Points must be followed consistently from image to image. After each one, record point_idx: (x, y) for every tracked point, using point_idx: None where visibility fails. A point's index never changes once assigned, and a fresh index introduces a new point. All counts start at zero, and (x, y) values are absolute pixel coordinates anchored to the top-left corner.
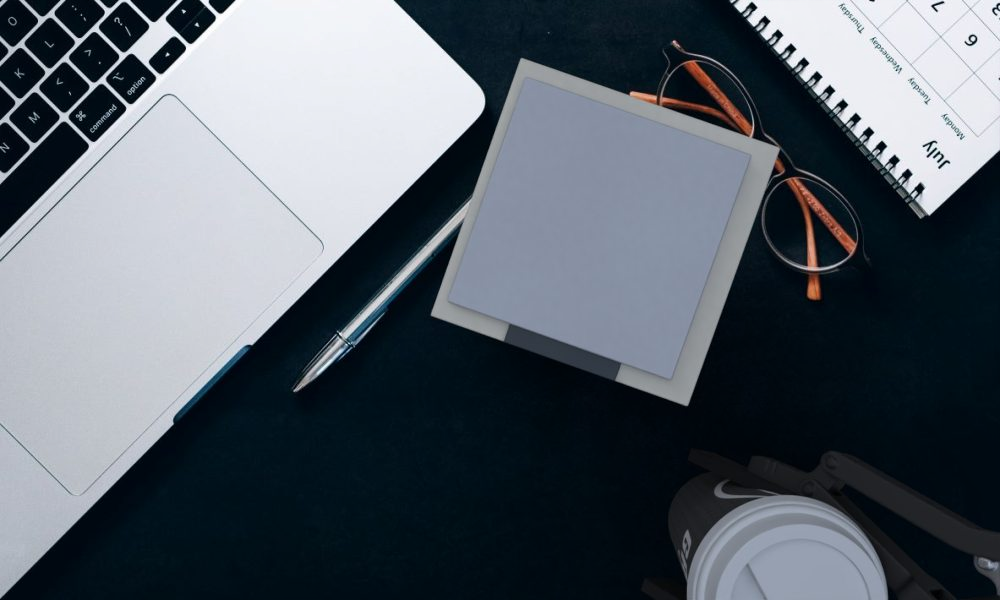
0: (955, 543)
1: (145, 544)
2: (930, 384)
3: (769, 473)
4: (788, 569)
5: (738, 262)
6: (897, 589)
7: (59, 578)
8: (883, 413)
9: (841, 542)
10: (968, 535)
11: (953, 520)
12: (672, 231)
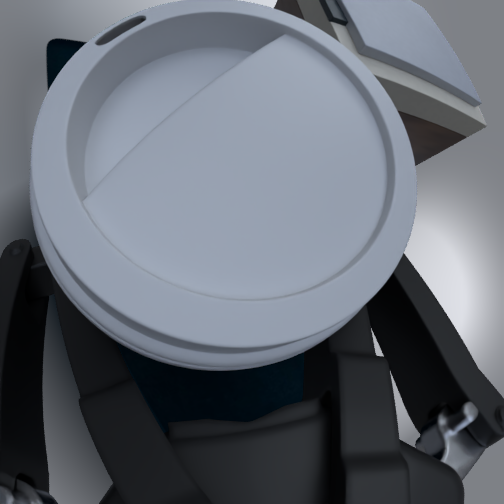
0: (456, 368)
1: (66, 58)
2: (293, 400)
3: None
4: (310, 88)
5: (444, 103)
6: (339, 352)
7: (51, 43)
8: (266, 387)
9: (406, 163)
10: (471, 373)
11: (465, 349)
12: (433, 56)
